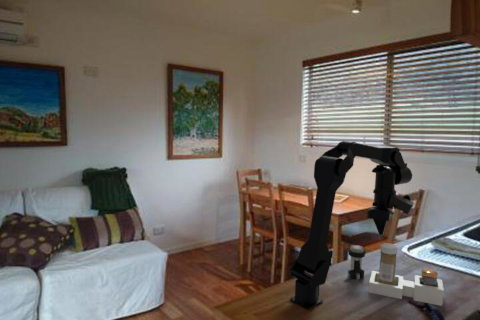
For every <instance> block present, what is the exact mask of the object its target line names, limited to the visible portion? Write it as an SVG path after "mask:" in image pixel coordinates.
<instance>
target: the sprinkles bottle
mask: <svg viewBox="0 0 480 320" xmlns="http://www.w3.org/2000/svg"><path fill="white" fill-rule="evenodd" d="M379 248H380V250H379V251H380V259H379V268H378V269H379V271H378V272H379V283H384V284H389V285H394V282H395V275H396V267H397V254H398V246H397V245H396V244H394V243H389V242H384V243H381V244H380V247H379Z"/></svg>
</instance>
